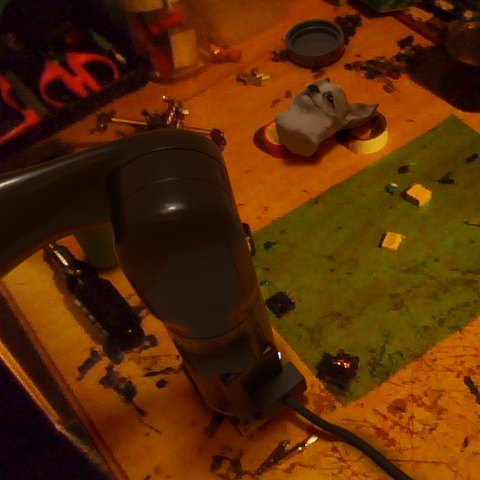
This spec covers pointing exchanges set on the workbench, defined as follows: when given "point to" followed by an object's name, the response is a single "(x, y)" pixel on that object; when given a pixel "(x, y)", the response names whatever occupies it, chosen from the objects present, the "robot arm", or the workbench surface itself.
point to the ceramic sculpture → (318, 117)
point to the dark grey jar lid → (315, 43)
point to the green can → (98, 246)
